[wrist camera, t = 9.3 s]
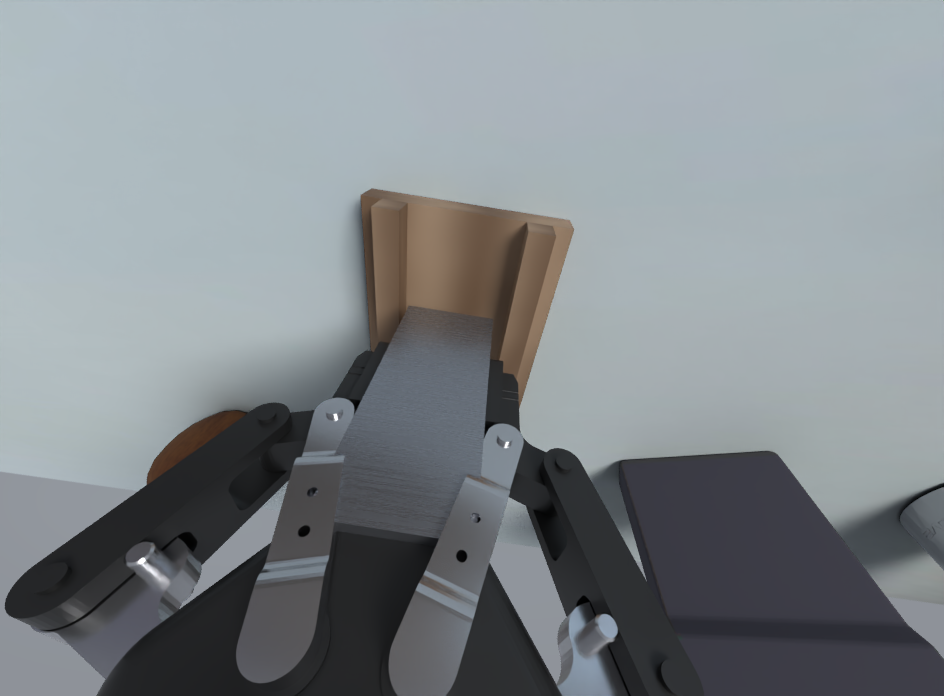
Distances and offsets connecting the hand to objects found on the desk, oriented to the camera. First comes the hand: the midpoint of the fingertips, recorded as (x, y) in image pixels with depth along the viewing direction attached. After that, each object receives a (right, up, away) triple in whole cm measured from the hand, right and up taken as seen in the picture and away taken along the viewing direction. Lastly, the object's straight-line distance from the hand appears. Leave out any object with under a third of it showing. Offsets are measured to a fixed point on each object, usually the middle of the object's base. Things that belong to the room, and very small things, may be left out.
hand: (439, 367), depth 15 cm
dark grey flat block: (+19, -9, +12) cm, 24 cm away
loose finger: (0, +1, +2) cm, 2 cm away
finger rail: (0, -1, +9) cm, 9 cm away
